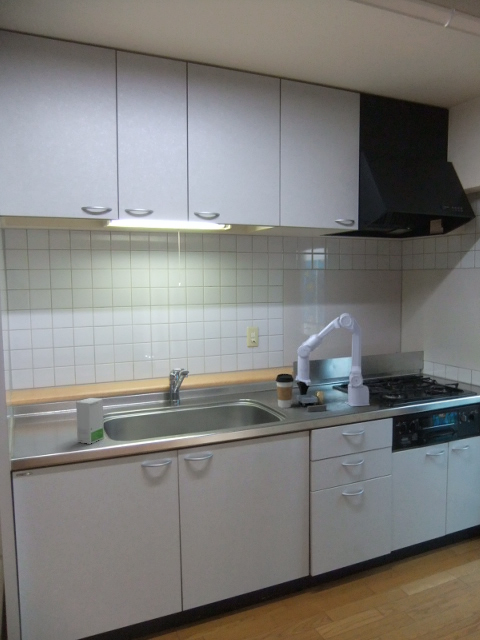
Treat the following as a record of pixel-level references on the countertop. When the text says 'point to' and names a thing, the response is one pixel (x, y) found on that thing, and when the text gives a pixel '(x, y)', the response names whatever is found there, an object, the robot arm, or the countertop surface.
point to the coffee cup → (284, 390)
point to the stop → (316, 408)
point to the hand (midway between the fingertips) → (303, 396)
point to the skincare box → (90, 420)
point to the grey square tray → (306, 399)
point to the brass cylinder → (320, 397)
